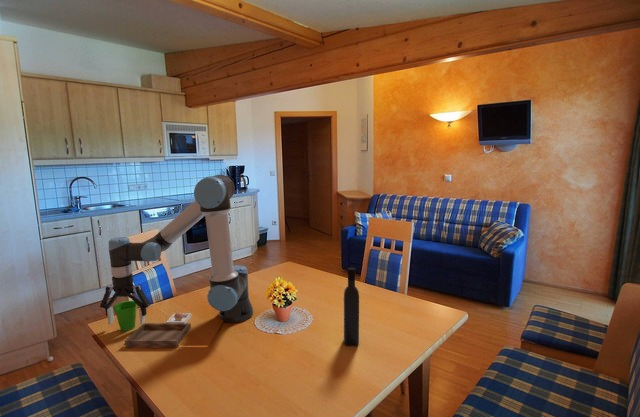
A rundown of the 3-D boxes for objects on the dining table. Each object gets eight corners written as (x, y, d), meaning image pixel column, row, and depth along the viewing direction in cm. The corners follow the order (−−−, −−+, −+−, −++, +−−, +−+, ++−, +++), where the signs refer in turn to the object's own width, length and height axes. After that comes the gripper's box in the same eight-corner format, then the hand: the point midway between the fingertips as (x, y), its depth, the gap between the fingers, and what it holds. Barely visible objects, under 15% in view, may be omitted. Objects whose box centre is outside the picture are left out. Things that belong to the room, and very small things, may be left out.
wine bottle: (357, 338, 139) (358, 266, 134) (359, 346, 133) (359, 271, 128) (343, 338, 139) (343, 266, 134) (344, 346, 133) (344, 271, 128)
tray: (191, 329, 147) (190, 323, 147) (177, 347, 133) (176, 340, 133) (144, 329, 148) (143, 323, 147) (125, 347, 134) (124, 340, 133)
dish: (191, 317, 158) (191, 313, 158) (184, 325, 150) (184, 321, 150) (174, 317, 158) (173, 313, 158) (166, 325, 150) (165, 322, 150)
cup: (129, 335, 142) (126, 310, 141) (110, 333, 144) (107, 308, 142) (144, 325, 151) (142, 301, 149) (126, 323, 153) (124, 299, 151)
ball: (184, 318, 156) (184, 310, 155) (181, 322, 152) (180, 314, 152) (176, 318, 156) (176, 310, 155) (173, 322, 152) (172, 314, 152)
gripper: (156, 271, 147) (160, 318, 151) (98, 271, 148) (103, 318, 151) (147, 277, 140) (151, 327, 143) (86, 277, 140) (92, 327, 144)
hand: (127, 322), depth 147 cm, fingers open, 13 cm apart
